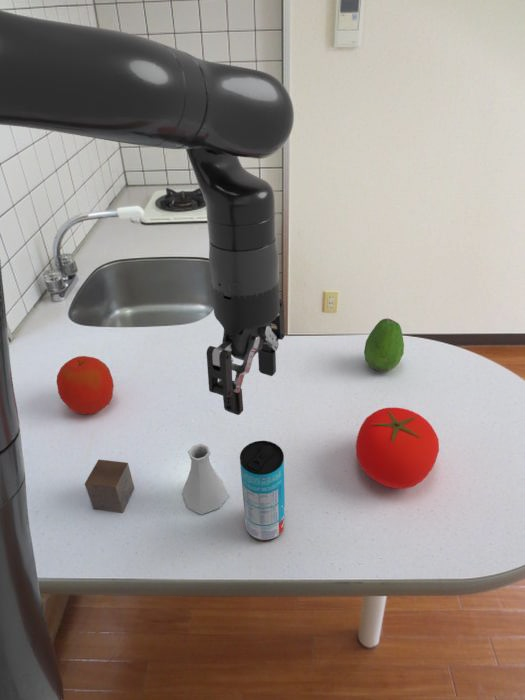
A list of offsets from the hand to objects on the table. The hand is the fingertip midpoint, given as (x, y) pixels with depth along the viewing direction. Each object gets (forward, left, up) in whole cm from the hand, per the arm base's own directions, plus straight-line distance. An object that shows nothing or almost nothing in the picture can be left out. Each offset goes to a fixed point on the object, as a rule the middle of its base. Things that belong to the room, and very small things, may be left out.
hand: (251, 391), depth 67 cm
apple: (+7, +42, -25) cm, 49 cm away
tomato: (+19, -15, -25) cm, 34 cm away
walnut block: (-8, +22, -25) cm, 34 cm away
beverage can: (-1, -2, -25) cm, 25 cm away
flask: (-1, +9, -25) cm, 26 cm away
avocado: (+45, -4, -25) cm, 51 cm away
